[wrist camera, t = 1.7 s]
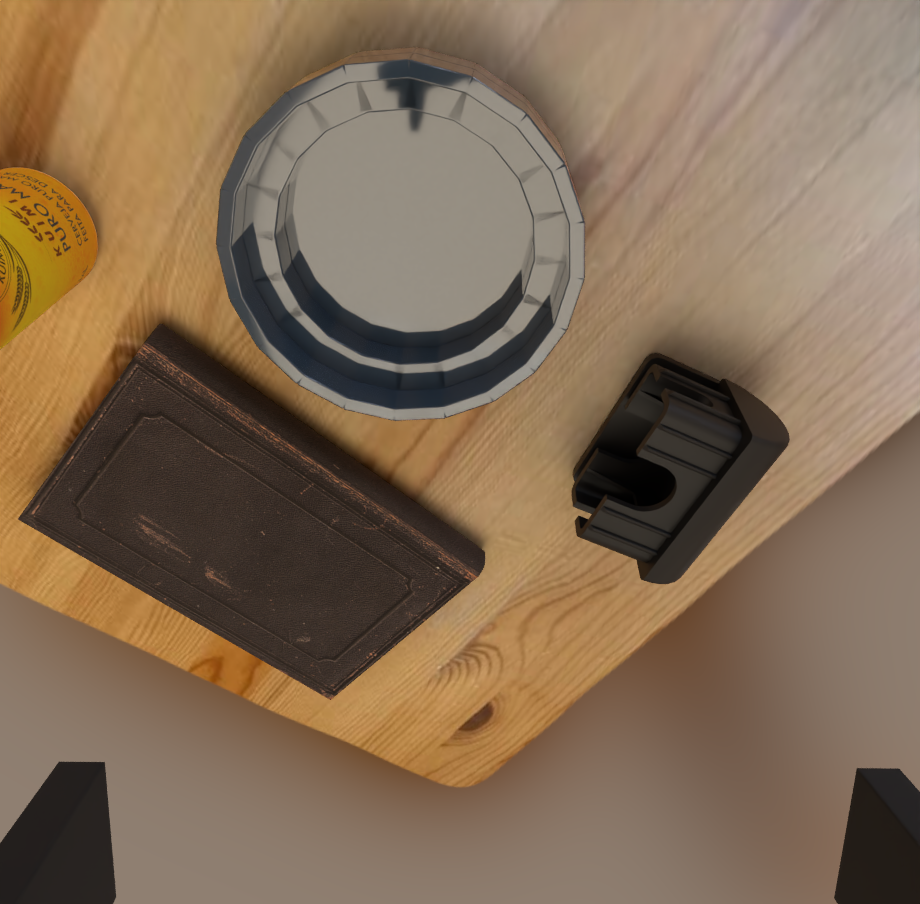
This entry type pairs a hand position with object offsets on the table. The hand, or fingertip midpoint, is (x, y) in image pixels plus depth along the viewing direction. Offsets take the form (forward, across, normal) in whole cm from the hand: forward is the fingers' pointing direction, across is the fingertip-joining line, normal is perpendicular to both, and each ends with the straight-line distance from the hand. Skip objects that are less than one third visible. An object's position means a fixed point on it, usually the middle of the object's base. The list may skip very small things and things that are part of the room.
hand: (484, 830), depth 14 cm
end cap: (+32, +12, 0) cm, 35 cm away
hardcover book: (+36, -11, -7) cm, 39 cm away
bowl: (+30, -2, +11) cm, 32 cm away
